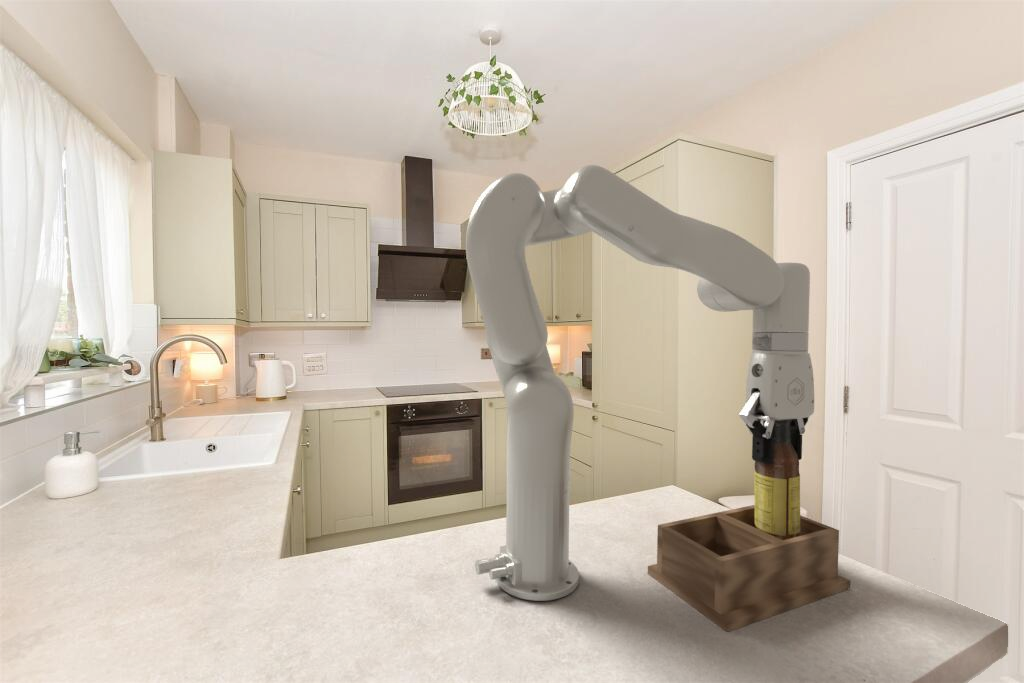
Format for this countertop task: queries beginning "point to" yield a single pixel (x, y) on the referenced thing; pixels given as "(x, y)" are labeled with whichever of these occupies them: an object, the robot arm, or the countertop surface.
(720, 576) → the caddy
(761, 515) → the sauce bottle
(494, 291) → the robot arm
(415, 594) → the countertop surface
